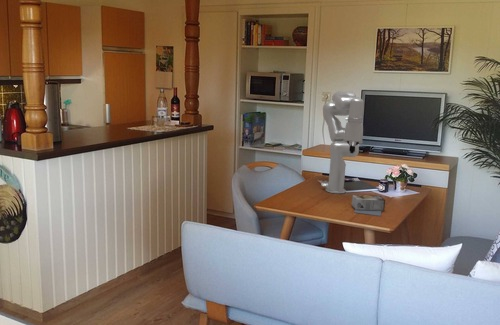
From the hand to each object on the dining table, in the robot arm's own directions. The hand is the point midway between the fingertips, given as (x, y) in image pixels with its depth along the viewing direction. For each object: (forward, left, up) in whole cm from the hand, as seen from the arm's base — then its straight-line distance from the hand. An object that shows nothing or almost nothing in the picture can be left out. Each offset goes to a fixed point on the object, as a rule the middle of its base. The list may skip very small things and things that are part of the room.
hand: (351, 152), depth 294 cm
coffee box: (+5, -12, -26) cm, 28 cm away
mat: (+13, -13, -29) cm, 34 cm away
